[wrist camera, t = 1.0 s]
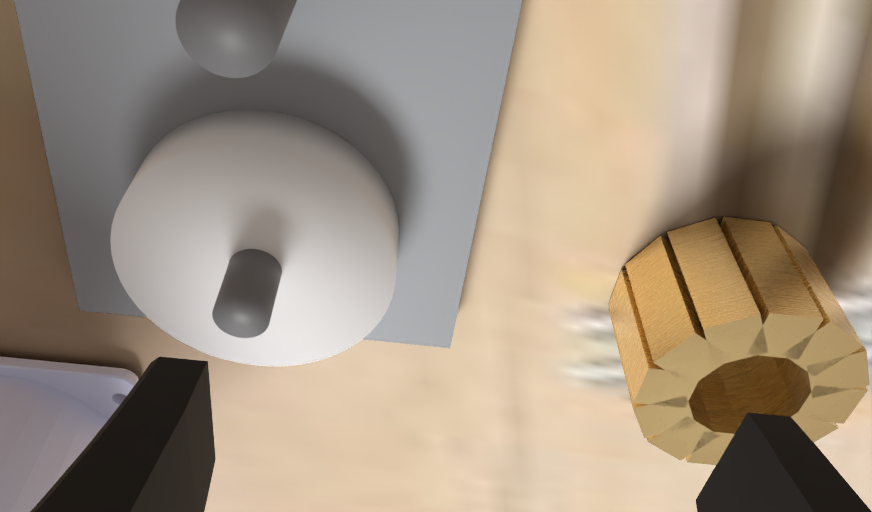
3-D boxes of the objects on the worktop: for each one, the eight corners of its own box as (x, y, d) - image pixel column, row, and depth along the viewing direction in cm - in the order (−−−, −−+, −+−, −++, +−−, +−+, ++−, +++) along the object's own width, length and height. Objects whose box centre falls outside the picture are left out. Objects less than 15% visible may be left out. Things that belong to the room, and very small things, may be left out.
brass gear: (763, 372, 23) (807, 473, 21) (589, 354, 23) (609, 455, 20) (846, 231, 20) (912, 328, 17) (644, 207, 20) (678, 302, 17)
